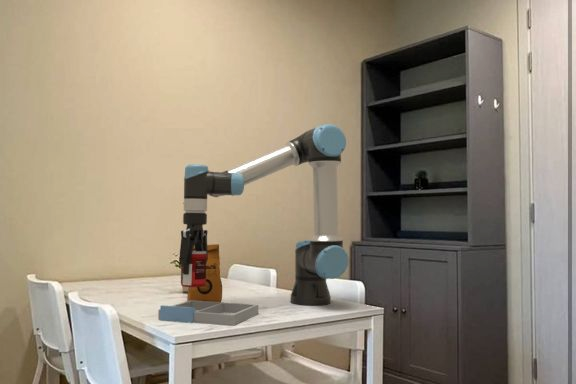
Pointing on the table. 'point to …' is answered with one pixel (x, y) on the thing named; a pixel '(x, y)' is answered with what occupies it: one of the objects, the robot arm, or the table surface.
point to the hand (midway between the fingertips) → (193, 283)
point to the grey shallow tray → (208, 312)
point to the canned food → (197, 269)
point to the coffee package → (209, 279)
